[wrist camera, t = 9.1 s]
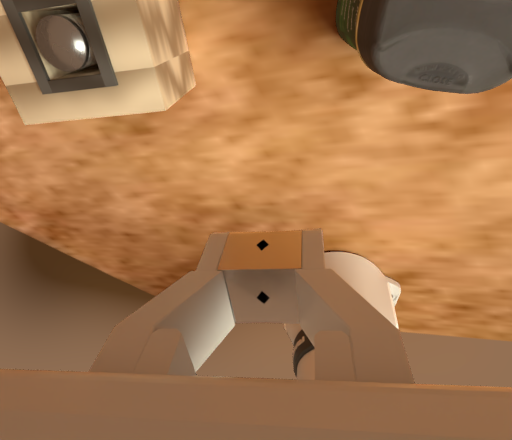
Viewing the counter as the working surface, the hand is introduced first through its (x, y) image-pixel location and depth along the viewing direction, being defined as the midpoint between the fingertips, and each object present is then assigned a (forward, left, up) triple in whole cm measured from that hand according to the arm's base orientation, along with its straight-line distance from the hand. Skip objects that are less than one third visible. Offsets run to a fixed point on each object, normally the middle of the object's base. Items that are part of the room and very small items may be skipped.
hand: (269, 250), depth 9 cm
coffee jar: (+4, -9, -31) cm, 33 cm away
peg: (+5, +18, -31) cm, 36 cm away
